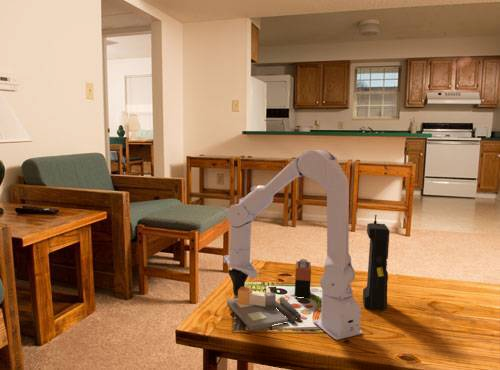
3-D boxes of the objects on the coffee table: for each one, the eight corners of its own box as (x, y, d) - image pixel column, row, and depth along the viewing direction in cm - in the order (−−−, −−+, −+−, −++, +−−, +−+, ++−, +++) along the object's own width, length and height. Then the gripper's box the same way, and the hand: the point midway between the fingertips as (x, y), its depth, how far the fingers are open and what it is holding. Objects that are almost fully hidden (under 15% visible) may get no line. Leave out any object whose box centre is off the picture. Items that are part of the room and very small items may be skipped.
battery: (309, 290, 119) (310, 258, 118) (309, 299, 113) (311, 266, 111) (294, 289, 120) (296, 257, 119) (294, 298, 113) (295, 265, 112)
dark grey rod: (297, 323, 99) (297, 317, 98) (292, 324, 98) (292, 318, 98) (268, 298, 113) (268, 293, 112) (263, 299, 112) (263, 294, 112)
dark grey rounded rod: (301, 320, 100) (302, 314, 100) (296, 321, 100) (296, 315, 100) (283, 301, 111) (283, 296, 111) (278, 302, 111) (278, 296, 110)
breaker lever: (273, 308, 103) (274, 295, 103) (237, 302, 106) (237, 290, 105) (276, 304, 106) (276, 291, 105) (241, 298, 109) (241, 286, 108)
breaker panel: (291, 322, 99) (291, 317, 99) (251, 330, 94) (251, 325, 94) (262, 298, 113) (262, 293, 113) (227, 304, 109) (227, 298, 108)
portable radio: (388, 312, 106) (394, 221, 102) (364, 310, 107) (370, 220, 104) (384, 300, 113) (390, 215, 110) (362, 298, 114) (367, 214, 111)
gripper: (267, 252, 103) (265, 301, 105) (238, 238, 115) (237, 283, 117) (244, 256, 99) (243, 307, 101) (217, 241, 111) (216, 287, 113)
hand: (238, 294), depth 109 cm, fingers closed, pressing on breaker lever
